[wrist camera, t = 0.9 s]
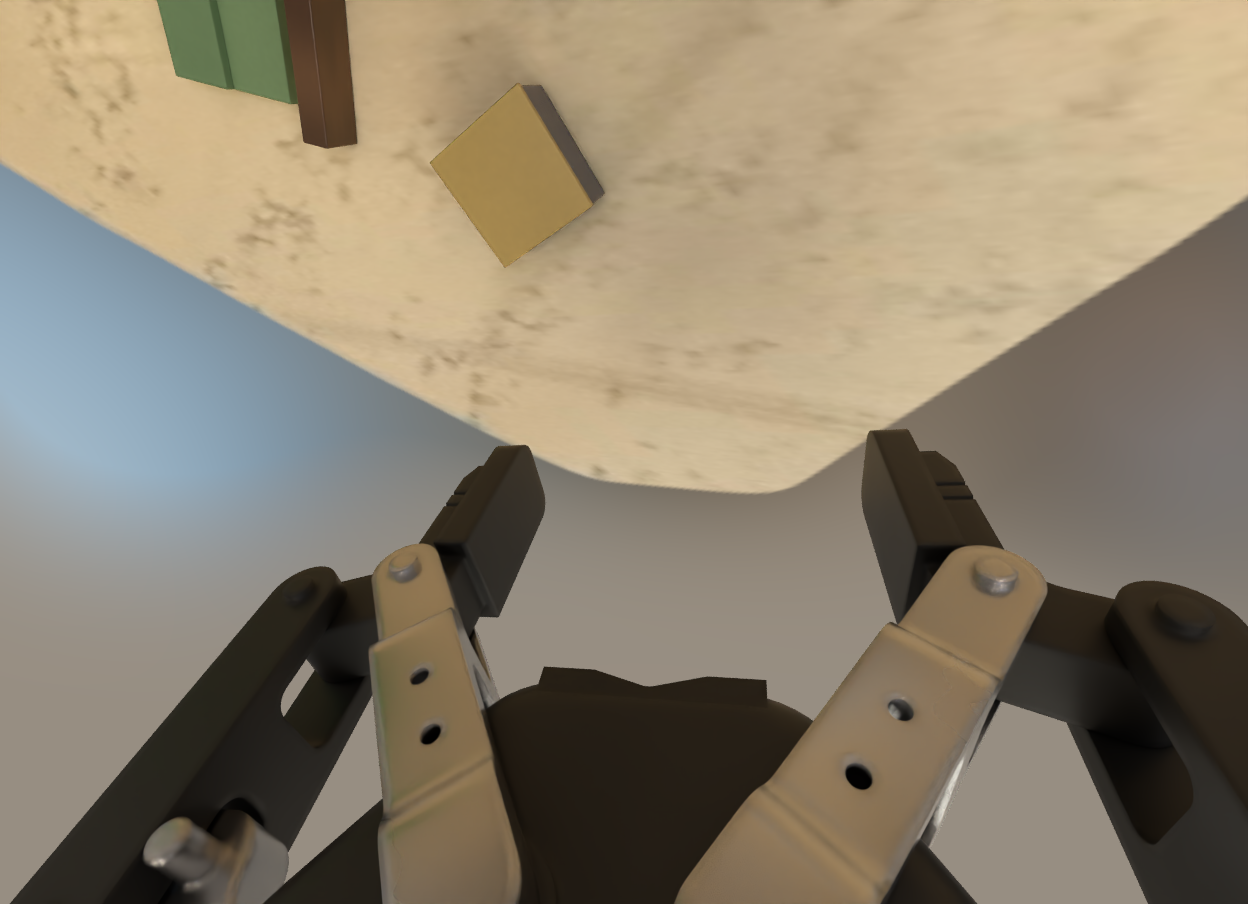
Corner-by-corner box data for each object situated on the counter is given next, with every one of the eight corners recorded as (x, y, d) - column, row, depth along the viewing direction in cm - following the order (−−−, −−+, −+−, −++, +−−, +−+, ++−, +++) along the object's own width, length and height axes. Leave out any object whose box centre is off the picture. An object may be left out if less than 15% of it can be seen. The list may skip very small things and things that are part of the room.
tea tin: (459, 154, 32) (429, 162, 29) (541, 82, 29) (517, 82, 26) (525, 250, 35) (504, 268, 32) (606, 193, 32) (592, 206, 29)
